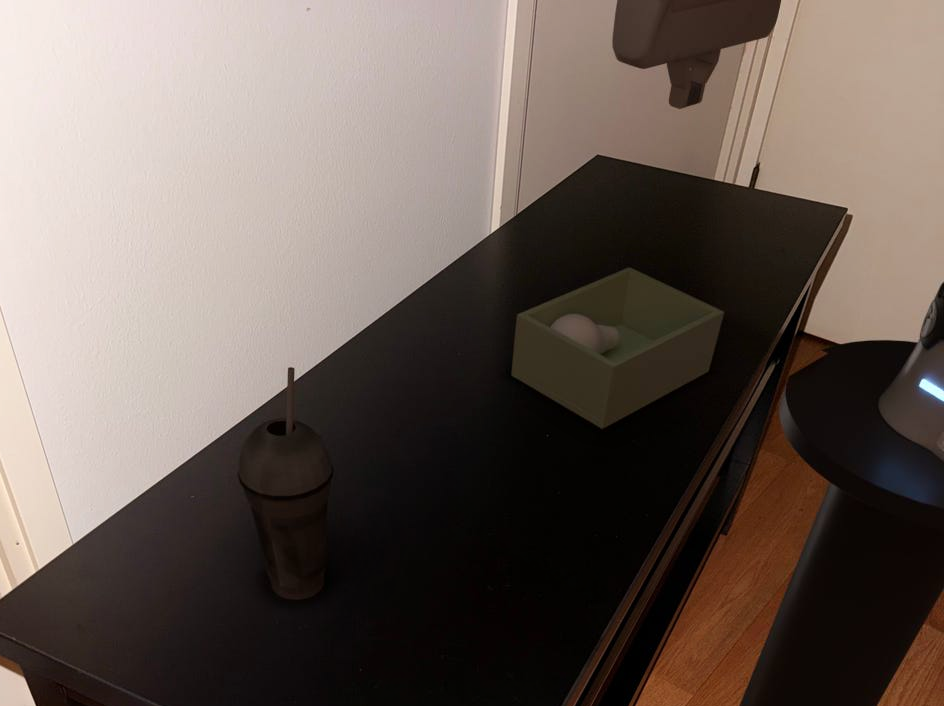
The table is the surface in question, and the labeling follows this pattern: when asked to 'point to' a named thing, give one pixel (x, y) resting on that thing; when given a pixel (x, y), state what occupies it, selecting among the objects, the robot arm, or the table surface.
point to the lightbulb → (587, 332)
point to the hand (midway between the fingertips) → (684, 104)
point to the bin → (634, 358)
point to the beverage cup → (289, 500)
